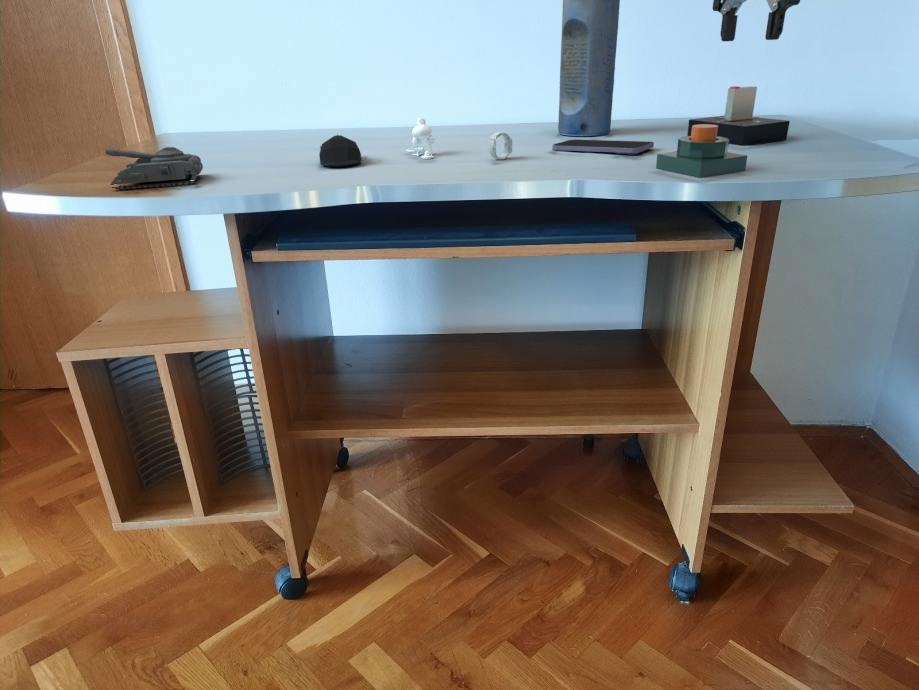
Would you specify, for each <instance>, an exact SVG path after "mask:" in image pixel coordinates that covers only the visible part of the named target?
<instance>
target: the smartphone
mask: <svg viewBox="0 0 919 690" xmlns="http://www.w3.org/2000/svg"><path fill="white" fill-rule="evenodd" d="M654 146H655V142H654V141H643V140H642V141H640V140H638V141H637V140H606V139H605V140H603V139H602V140H601V139H568V140H564V141H561V142H558V143H554V144H552V145H551V147H552V148H551V149H552V150H553V151H567V152H572V151H573V152H594V153H595V152H596V153H615V154H616V155H621V156H622V155H623V156H624V155H628V156H636V155H638V154H640V153H643V152H645V151H647V150H650V149H653V148H654Z"/></svg>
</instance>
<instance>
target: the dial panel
mask: <svg viewBox="0 0 919 690" xmlns="http://www.w3.org/2000/svg"><path fill="white" fill-rule="evenodd" d="M724 117H725V115H716V116H709V117H699V118H692V119H688V126H687V134H686V137H687V136H691V131H692V126H693V125H698V124H711V125H717V126H718V132H717V136H718V137H725V138H727V139H729V144H728V145H733V146H740V147H745V146H753V145H760V144H767V143H775V142H780V141H781V142H782V141H787V138H788V135H789V134H788V133H789V127H790V122H791V121H790V120H788V119H787V120H786V119H776V118H769V117H768V118H767V117H760V116H753V117H752V119H747V120H738V121H724Z"/></svg>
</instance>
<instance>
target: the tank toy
mask: <svg viewBox="0 0 919 690" xmlns="http://www.w3.org/2000/svg"><path fill="white" fill-rule="evenodd" d="M105 155H108V156H110V157H125V158H131V159H136V160H134V161H131V162H129V163H128V164H126V165H125V167H126V168H124V169H121V170H120V171H119V172H117V176H115V177H114V179H113V180H112V181H111V183H110V184H109V186H110V185H114V184H118V185H120V186H119V187H111V188H112V189H115V190H125V189H126V190H130V189H132V190H134V189H142V188H144V189H148V188H160V187H161V188H162V187H163V188H164V187H171V186H172V187H175V186H189V185H192V184H193V183H194V182H195V181H196V179H197V176H199V175H200V174H201V173H202V171H203V168H204V166H203V162H202V160H201V157H200V156H198V155H196V154H190V153H184V151H183V150H180V149H179V148H177V147H175V146H166V147H163V148H162V149H160V150H158V151H157V152H155V153H149V152H141V151H135V150H125V149H124V150H123V149H119V148H116V147H115V148H114V147H109V148H105ZM188 178H190V179H191V180H194V181H190V179H188ZM176 180H178V181H176ZM166 181H167V182H166ZM143 183H144V184H143ZM126 184H127V185H126ZM132 184H133V185H132Z"/></svg>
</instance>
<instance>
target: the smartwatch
mask: <svg viewBox="0 0 919 690" xmlns="http://www.w3.org/2000/svg"><path fill="white" fill-rule="evenodd" d="M500 136H502V152H503V153H502V154H501V155H500V156H498V155H497V149H496V147H497V146H496V144H497V143H496V142H497V139H498V138H499V137H500ZM487 150H488V153H489V155H490V156H491V158H493V159H495V160H500V161H501V160H505V159H507V158H508V157H509V155H511V154H512V153H513V137H511V136H510V135H509V134H508V133H506V132H502V131H495V132H494V133H492V134H491V136H490V137H489V140H488V144H487Z"/></svg>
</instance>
